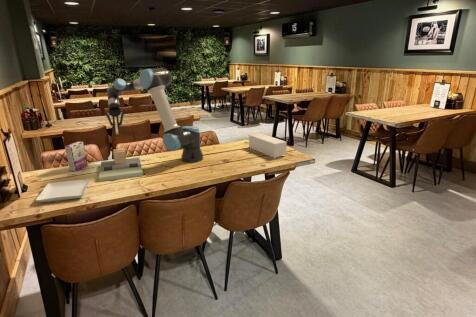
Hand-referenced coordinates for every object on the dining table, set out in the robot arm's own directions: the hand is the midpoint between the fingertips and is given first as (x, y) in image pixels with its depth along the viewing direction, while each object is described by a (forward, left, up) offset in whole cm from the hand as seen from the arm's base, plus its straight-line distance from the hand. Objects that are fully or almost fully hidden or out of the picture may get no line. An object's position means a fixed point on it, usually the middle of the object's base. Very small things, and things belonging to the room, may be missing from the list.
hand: (117, 133), depth 207 cm
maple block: (-16, +9, -15) cm, 24 cm away
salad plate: (-33, +51, -18) cm, 63 cm away
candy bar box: (+1, +29, -18) cm, 34 cm away
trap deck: (-24, +14, -18) cm, 33 cm away
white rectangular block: (-74, -76, -18) cm, 108 cm away
